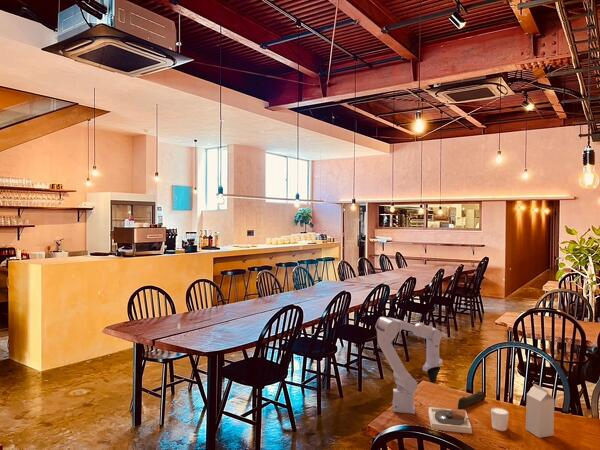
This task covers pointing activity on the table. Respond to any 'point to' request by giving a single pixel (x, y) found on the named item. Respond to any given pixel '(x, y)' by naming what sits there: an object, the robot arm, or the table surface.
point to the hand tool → (470, 399)
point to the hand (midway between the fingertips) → (432, 382)
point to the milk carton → (540, 412)
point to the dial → (451, 416)
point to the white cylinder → (499, 418)
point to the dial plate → (447, 427)
